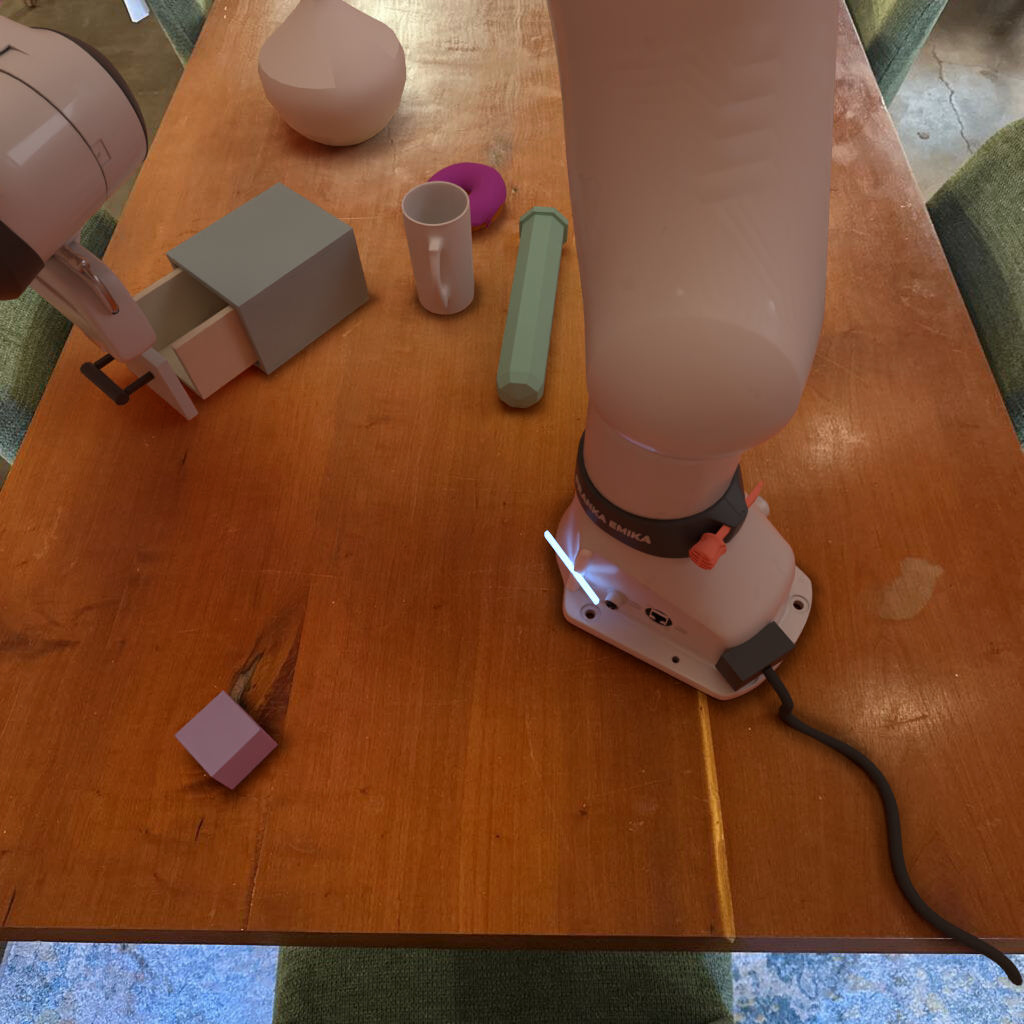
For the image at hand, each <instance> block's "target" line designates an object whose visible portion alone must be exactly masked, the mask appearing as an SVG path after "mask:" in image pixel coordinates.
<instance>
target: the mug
mask: <svg viewBox="0 0 1024 1024" xmlns="http://www.w3.org/2000/svg"><path fill="white" fill-rule="evenodd" d="M400 208H401V212H402V220H403V225H404V230H405V236H406V241H407V247H408V251H409V257H410V262H411V266H412V272H413V278H414V282H415V286H416V292H417V297H418V300H419V303H420V304H421V306H422V307H423V308H424V309H425V310H427V311H428V312H430V313H432V314H435V315H440V316H441V315H442V316H443V315H444V316H449V315H455V314H457V313H461V312H463V311H465V309H467V308H468V307H469V306H470V305H471V304H472V302H473V300H474V297H475V275H474V273H475V272H474V258H473V257H474V256H473V237H472V232H471V215H470V204H469V197H468V195H467V193H466V192H465V191H464V190H463V189H462V188H461V187H459V186H457V185H455V184H453V183H449V182H444V181H432V182H427V181H426V182H423V183H420V184H418V185H415V186H413V187H412V188H410V189H409V190H408V191H407V192H406V193H405V194H404V196H403V197H402V199H401V203H400Z"/></svg>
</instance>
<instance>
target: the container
mask: <svg viewBox="0 0 1024 1024" xmlns="http://www.w3.org/2000/svg"><path fill="white" fill-rule="evenodd" d="M518 220H519V221H518V232H519V233H518V236H519V237H518V238H519V245H518V251H517V256H516V262H515V267H514V273H513V279H512V285H511V291H510V296H509V303H508V308H507V313H506V319H505V326H504V331H503V337H502V344H501V348H500V354H499V360H498V366H497V373H496V378H495V381H496V382H495V383H496V393H497V395H498V397H499V400H501V401H502V402H503V403H505V404H507V405H508V406H510V407H511V408H522V409H527V408H529V407H531V406H533V405H535V404H537V403H538V402H539V401H540V400H541V399H542V397H543V396H544V391H545V384H546V383H545V382H546V377H547V376H546V375H547V369H548V360H549V351H550V345H551V338H552V331H553V330H552V329H553V321H554V314H555V307H556V300H557V291H558V285H559V276H560V269H561V261H562V254H563V246H564V245H565V244H566V243H567V242H568V236H569V220H568V218H566V216H565V215H563V213H561V212H560V211H559V210H558V209H557V208H556V207H553V206H539V205H538V206H537V205H536V206H535V205H534V206H533V207H531V208H530V209H529V210H527V211H526V212H525V213H524V214H522V215H521V216H520V217H519V219H518Z"/></svg>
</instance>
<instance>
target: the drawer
mask: <svg viewBox="0 0 1024 1024" xmlns="http://www.w3.org/2000/svg"><path fill="white" fill-rule="evenodd" d="M132 297H133V299H134V300H135V302H136V303H137V305H138V306H139V308H140V309H141V311H142V312H143V314H144V315H145V317H146V318H147V320H148V321H149V323H150V325H151V326H152V328H153V329H154V331H155V333H156V338H157V339H156V343H155V345H154V346H152V347H151V348H150V349H148V350H147V351H146V352H144V353H143V354H141V355H140V356H138V357H137V358H135V359H134V360H132V361H130V362H128V363H126V364H125V366H126V368H127V369H128V370H129V371H130V372H131V373H132V374H134V375H135V376H136V377H137V378H136V380H134V381H133V382H131V383H130V384H128V385H127V386H125V387H124V388H123V387H121V386H120V385H119V384H117V382H115V381H114V380H113V379H112V378H111V377H110V376H108V375H107V374H106V373H105V372H104V371H102V370H101V369H103V368H104V367H106V366H107V365H109V364H111V363H112V362H113V361H115V360H116V359H115V358H114V357H112V356H111V355H110V354H109V353H108V352H107V353H106V354H105V355H103V356H102V357H100V358H98V359H97V360H95V361H94V362H92V361H85V362H83V363H82V364H81V366H80V367H79V372H80V373H81V374H82V375H83V376H84V377H85V378H86V379H88V381H90V382H91V383H92V384H93V385H94V386H95V387H96V388H97V389H99V390H100V391H101V392H102V393H103V394H104V395H105V396H106V397H108V398H109V399H110V401H112V402H113V403H114V404H115V405H117V406H119V407H123V406H125V405H127V404H128V403H129V402H130V399H131V397H130V396H131V395H133V394H134V393H136V392H138V391H139V390H141V388H143V387H145V386H146V385H147V386H148V387H149V388H150V390H152V391H153V392H155V393H156V394H157V395H158V396H159V397H160V398H161V399H162V400H164V401H165V402H166V403H168V404H169V405H170V406H171V407H172V408H173V409H175V410H176V411H177V412H178V413H179V414H181V415H182V416H183V417H184V418H185V419H186V420H188V421H190V420H192V419H193V418H194V417H196V416H197V415H199V411H198V410H197V408H196V407H195V405H194V403H193V401H192V399H191V398H190V396H189V394H188V393H187V391H186V390H185V388H184V386H183V384H184V385H185V386H186V387H187V388H189V389H190V390H191V391H192V392H194V393H195V394H196V395H197V396H198V397H200V398H201V399H203V400H206V399H207V398H209V397H210V396H212V395H213V394H214V393H216V392H217V391H218V390H220V389H221V388H223V387H224V386H226V385H227V384H228V383H229V382H230V381H232V380H233V379H235V378H236V377H237V376H239V375H240V374H242V373H243V372H244V371H246V370H247V369H249V368H250V367H251V366H252V365H254V363H255V362H256V361H258V358H257V356H256V354H255V351H254V349H253V347H252V344H251V342H250V340H249V338H248V335H247V333H246V331H245V329H244V326H243V324H242V322H241V320H240V317H239V315H238V313H237V311H236V309H235V308H234V307H233V306H231V305H230V304H229V303H227V302H226V301H224V300H223V299H222V298H220V297H219V296H218V295H216V294H215V293H214V292H212V291H211V290H210V289H208V288H207V287H205V286H204V285H203V284H201V283H200V282H199V281H197V280H196V279H195V278H193V277H192V276H191V275H189V274H188V273H187V272H185V271H184V270H182V269H181V268H180V267H178V268H176V269H175V270H174V269H172V270H171V271H170V272H169V273H167V274H165V275H164V276H163V277H160V278H159V279H158V280H156V281H155V282H153V283H151V284H150V285H148V286H147V287H145V288H144V289H142V290H141V291H139V292H138V293H136V294H134V295H133V296H132ZM181 382H182V383H181Z"/></svg>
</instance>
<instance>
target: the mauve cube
mask: <svg viewBox="0 0 1024 1024" xmlns="http://www.w3.org/2000/svg"><path fill="white" fill-rule="evenodd" d="M174 737H175V739H176V740H177V741H178V743H180V745H182V747H183V748H184V749H185V750H186V751H187V752H188V753H189V754H190V756H191V757H192V758H193V759H194V760H195V761H196V762H197V763H198V764H199V765H200V767H202V769H203V770H204V771H205V772H206V773H207V774H208V775H209V776H210V777H211V778H212V779H213V780H215V781H217V782H218V783H220V784H221V785H224V786H225V787H227V788H228V789H230V790H231V791H233V790H234V789H235V788H236V787H237V786H238V785H239V784H240V783H241V782H242V781H243V780H244V779H245V778H246V777H247V776H248V775H249V774H250V773H252V771H254V769H255V768H256V767H257V766H258V765H260V763H261V762H263V760H264V759H265V758H266V757H267V756H268V755H269V754H270V753H272V751H274V750H275V748H276V747H278V745H279V744H278V743H277V742H276V741H275V740H274V739H273V738H272V737H271V736H270V735H269V734H268V732H266V730H264V729H263V728H262V726H261V725H259V723H258V722H257V721H256V720H255V719H254V718H253V717H252V716H251V714H249V713H248V712H247V711H246V710H245V709H244V708H243V707H242V706H241V705H240V704H239V703H237V701H236V700H235V699H234V698H232V696H230V695H229V694H228V693H227V692H226V691H225V690H222V691H221V692H219V694H217V695H216V696H215V697H214V698H213V699H212V700H211V701H210V702H209V703H207V705H205V706H204V707H203V708H202V709H201V710H200V711H199V712H198V713H197V714H195V715H194V717H192V718H191V719H190V720H189V721H188V722H187V723H186V724H185V725H184V726H182V727H181V728H180V729H179V730H178V731H177V732H176V733H175V734H174Z"/></svg>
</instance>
